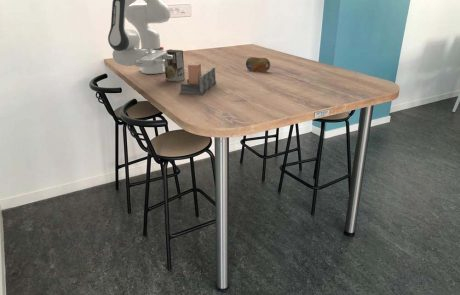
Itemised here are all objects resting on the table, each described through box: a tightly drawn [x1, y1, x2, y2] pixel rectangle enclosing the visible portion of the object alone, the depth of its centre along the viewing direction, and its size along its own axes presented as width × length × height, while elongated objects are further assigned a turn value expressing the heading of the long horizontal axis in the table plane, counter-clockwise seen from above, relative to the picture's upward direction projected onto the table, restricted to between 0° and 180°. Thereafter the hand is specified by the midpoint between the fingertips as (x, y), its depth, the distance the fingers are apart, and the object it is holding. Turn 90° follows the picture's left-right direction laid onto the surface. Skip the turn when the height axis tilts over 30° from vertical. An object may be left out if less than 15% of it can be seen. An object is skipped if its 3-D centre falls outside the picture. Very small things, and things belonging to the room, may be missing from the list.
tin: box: [245, 56, 271, 73], centre depth 223 cm, size 15×3×8 cm, turn 62°
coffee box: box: [164, 49, 186, 82], centre depth 205 cm, size 9×6×16 cm
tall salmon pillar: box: [187, 62, 202, 85], centre depth 185 cm, size 4×5×12 cm
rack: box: [179, 66, 217, 96], centre depth 190 cm, size 21×12×9 cm, turn 164°
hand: (168, 59), depth 186 cm, fingers open, 8 cm apart
